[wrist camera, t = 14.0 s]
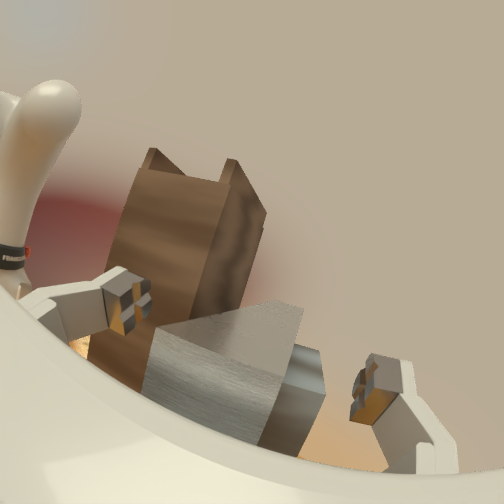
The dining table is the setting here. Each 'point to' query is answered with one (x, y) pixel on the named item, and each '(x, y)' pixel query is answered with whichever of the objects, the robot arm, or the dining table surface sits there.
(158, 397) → the steel bar
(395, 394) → the robot arm
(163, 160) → the stand
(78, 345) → the dining table surface
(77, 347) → the dining table surface
